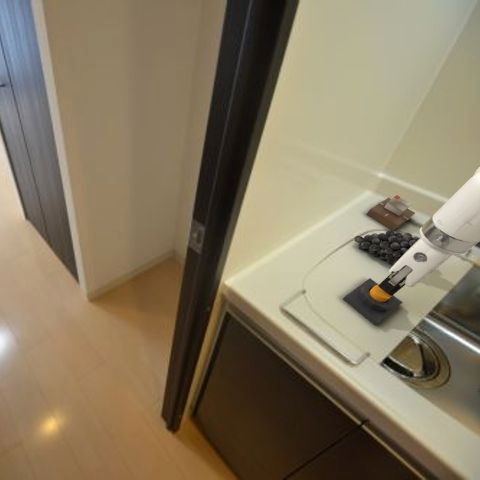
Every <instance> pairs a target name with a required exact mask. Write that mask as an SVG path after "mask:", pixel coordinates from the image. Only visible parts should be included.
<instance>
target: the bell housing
mask: <svg viewBox="0 0 480 480" xmlns="http://www.w3.org/2000/svg"><path fill="white" fill-rule="evenodd" d="M379 284H380V283H378V282H376V281H375V280H373V279H372V278H371V277H369V278H368V279H366V280H365V281H364V282H362V283H361V284H359V285H358V286H357V287H356V288H354V289H353V290H351V291H350V292H348V293H347V294H345V296H344V297H343V298H342V300H343V301H344V302H345V303H346V304H347V305H349V306H350V307H351V308H353V309H354V310H355V311H356V312H358V313H359V314H360V315H361V316H362V317H363V318H364V319H366V320H367V321H368V322H369V323H371V324H372V325H373V326H376V325H378V324H379V323H380V322H381V321H382V320H384V319H385V318H386V317H387V316H388V315H390V314H391V313H392V312H393V311H395V309H397V308H398V307H399V306H400V305H402V304H403V301H402V300H401V299H399V298H398V297H396V295H393V296H391V298H389V299H388V300H387V301H386V302H379V301H376V300H375V299H373V298H372V297H371V295H370V293H369V292H370V290H371V289H372V288H373V287H374V286H376V285H379Z"/></svg>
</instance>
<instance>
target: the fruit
mask: <svg viewBox="0 0 480 480" xmlns="http://www.w3.org/2000/svg"><path fill="white" fill-rule="evenodd" d="M420 238H421V237H419V236H413V235H412V233H410V232H405V233H402V232H395V230H393V231H392V230H390V229H387V231H385V233H384V232H380V233H377V232H376V233H375V232H373V233H372V234H366V235H364V236H361V235H356V236H355V237H354V239H353V240H354V242H355V243H358V245H357V248H358V249H359V250H361V251H364V250H366V251H367V252H369V254H371V255H372V256H373V257H375V258H378V257H379V258H380V260H382V261H385V260H386V262H387V263H389V264H391V265H392V266H393V265H394V264H395V263H396V262H397V261H398V260H399V259H400V258H401V257H402V256H403V255H404V254H405V253H406V252H407V251H408V250H409V249H410V248H411V247H412V246H413V245H414V244H415V243H416V242H417V241H418V240H419V239H420Z"/></svg>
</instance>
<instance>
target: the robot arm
mask: <svg viewBox="0 0 480 480" xmlns="http://www.w3.org/2000/svg"><path fill="white" fill-rule="evenodd" d="M419 235H420V236H421V237H419V238H420V239H419V240H418V241H417V242H416V243H415V244H414V245H413V246H412V247H411V248H410V249H409V250H408V251H407V252H406V253H405V254H404V255H403V256H402V257H401V258H400V259H399V260H398V261H397V262H396V263H395V264H394V265H393V264H392V267H390V269H388V273H389V275H387V276H386V277H385V278H384V279H383V280H382V281H381V282H380V283H378V284H379V285H378V287H379V288H381V289H382V290H384V291H385V292H386V293H388V294H389V295H390V296H395V294H396V293H398V292H399V291H400V290H402V288H404V287H405V286H407V287H408V288H414V287H415V286H417V285H418V284H419V283H420V282H421V281H424V280H425V279H426V278H427V277H428V276H429V275H431V274H432V273H433V272H435V270H437V269H438V268H439V267H441V265H443V264H444V263H445V262H446V261H448V260H449V259H450V258H451V257H452V256H453V255H454V256H455V255H457V256H458V255H464V254H466V253H467V252H469V251H470V250H471V249H472V248H474V246H476V245H477V244H478V243H480V166H479V167H478V168H476V170H475V172H474V173H473V175H472V176H471V177H470V178H469V179H468V180H467V181H466V182H465V183H464V184H463V185H462V186H461V187H460V188H459V189H458V190H457V191H456V192H455V193H454V194H453V195H452V196H451V197H450V198H449V199H448V200H447V201H446V202H445V203H444V204H443V205H442V206H440V208H439V209H438V210H437V211H436V212H434V214H433V215H432V216H430V218H429V219H428V220H427V221H425V223H424V224H423V225H421V227H420V228H419Z"/></svg>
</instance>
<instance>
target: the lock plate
mask: <svg viewBox="0 0 480 480" xmlns="http://www.w3.org/2000/svg"><path fill="white" fill-rule="evenodd" d="M390 200H391V198H390V197H387V198H384V200H382V201H378V202H377V204H376V205H375V206H373V207H371V208H370V209H369V210H368V211H367V213H366V214H365V215H366V216H367V217H368V218H370V219H372V220H374V221H375V222H377V223H379V224H380V225H382V226H383V227H385V228H387V230H392V231H395V230H396V229H398V228H399V227H400V226H402V225H404V224H405V223H406V222H407V221H409V220H411V218H412V217H413V216H414V215H415V214H416V212H415V211H413V210H412V209H409V208H408V209H407V210H406V211H405V212H404V213H403V214H402V215H400V216H398V215H396V214H395V213H393V212H391V211H389V210H388V209H386V208H384V207H385V206H386V204H387V203H388V202H389V201H390Z"/></svg>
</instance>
